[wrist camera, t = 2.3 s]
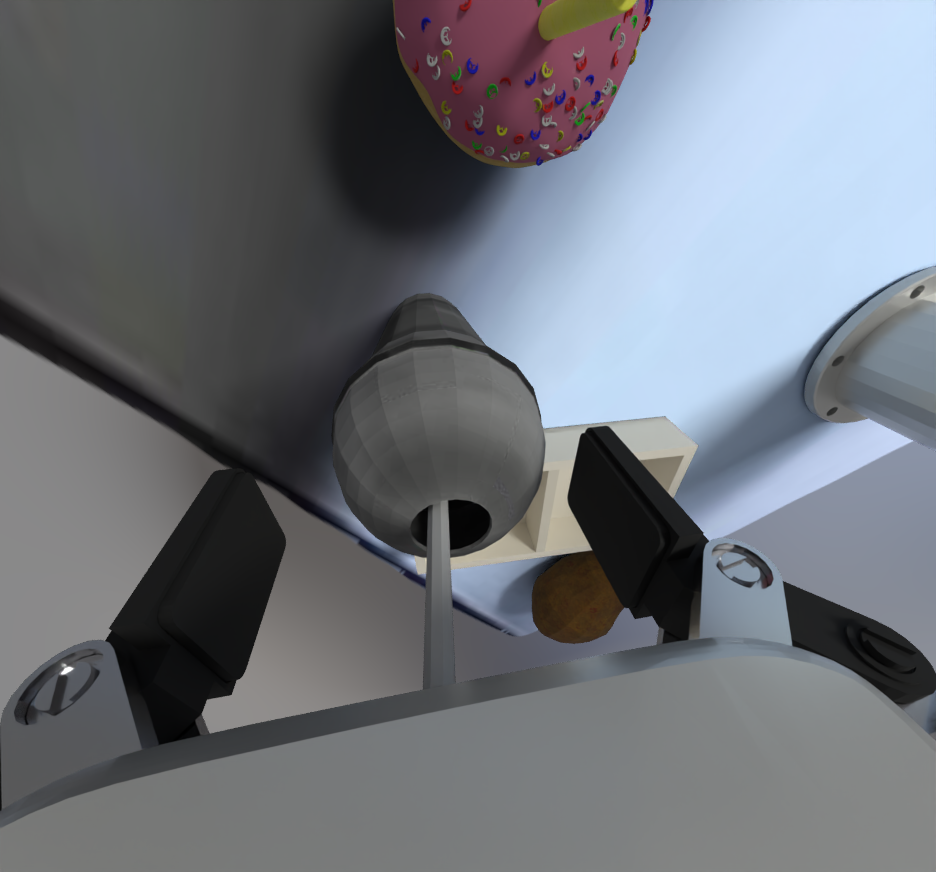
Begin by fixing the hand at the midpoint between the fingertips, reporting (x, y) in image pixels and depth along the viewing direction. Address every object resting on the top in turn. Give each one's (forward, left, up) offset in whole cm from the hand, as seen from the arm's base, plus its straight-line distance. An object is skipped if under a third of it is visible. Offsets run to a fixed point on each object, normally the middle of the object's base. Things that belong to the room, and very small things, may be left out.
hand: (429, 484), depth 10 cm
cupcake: (-5, -12, -14) cm, 19 cm away
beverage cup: (-1, 0, -14) cm, 14 cm away
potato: (-14, +29, -14) cm, 35 cm away
